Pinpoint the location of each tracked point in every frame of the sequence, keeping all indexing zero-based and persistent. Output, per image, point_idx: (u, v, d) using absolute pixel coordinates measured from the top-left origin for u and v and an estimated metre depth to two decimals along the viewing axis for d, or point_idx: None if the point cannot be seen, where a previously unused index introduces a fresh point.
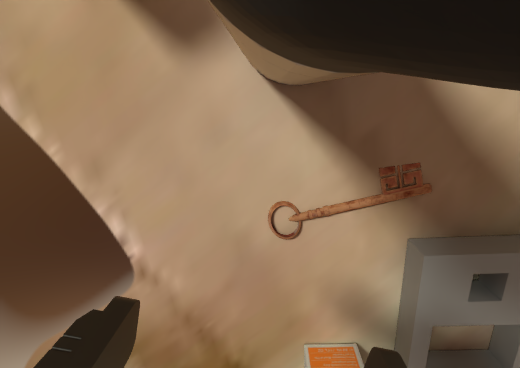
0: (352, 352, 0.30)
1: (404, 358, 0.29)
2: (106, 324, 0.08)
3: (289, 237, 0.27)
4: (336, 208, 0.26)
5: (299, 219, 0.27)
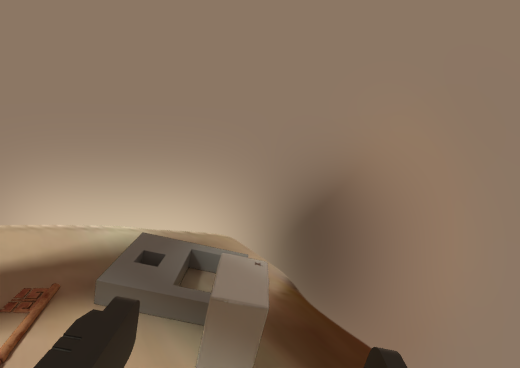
0: None
1: None
2: (106, 324, 0.08)
3: None
4: (3, 346, 0.24)
5: None
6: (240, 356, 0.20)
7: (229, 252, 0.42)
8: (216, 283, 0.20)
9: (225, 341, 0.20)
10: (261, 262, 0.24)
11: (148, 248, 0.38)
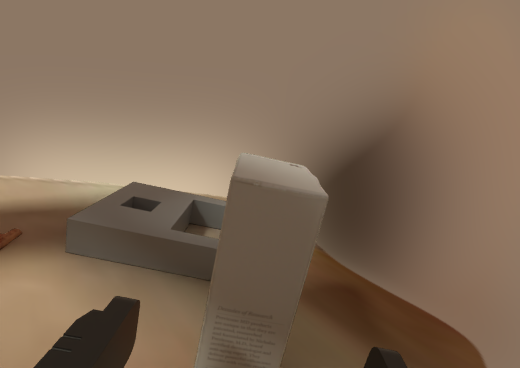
0: None
1: None
2: (106, 324, 0.08)
3: None
4: None
5: None
6: (278, 285, 0.12)
7: None
8: (238, 168, 0.13)
9: (254, 258, 0.12)
10: (298, 165, 0.16)
11: (139, 195, 0.31)
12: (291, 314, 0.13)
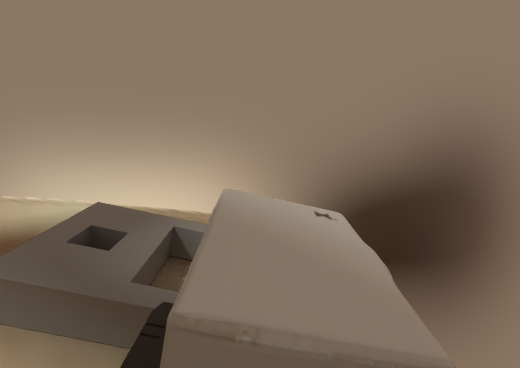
0: None
1: None
2: None
3: None
4: None
5: None
6: None
7: None
8: (201, 256, 0.05)
9: None
10: (329, 213, 0.09)
11: (100, 223, 0.23)
12: None
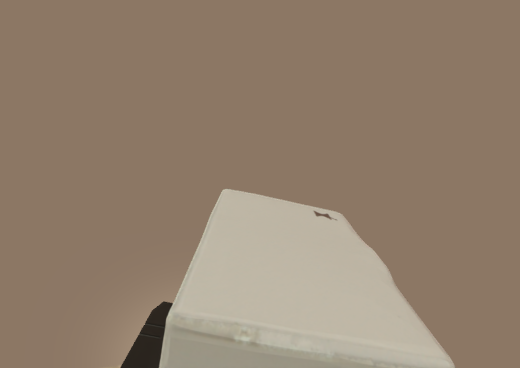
0: None
1: None
2: None
3: None
4: None
5: None
6: None
7: None
8: (201, 256, 0.05)
9: None
10: (329, 213, 0.09)
11: None
12: None
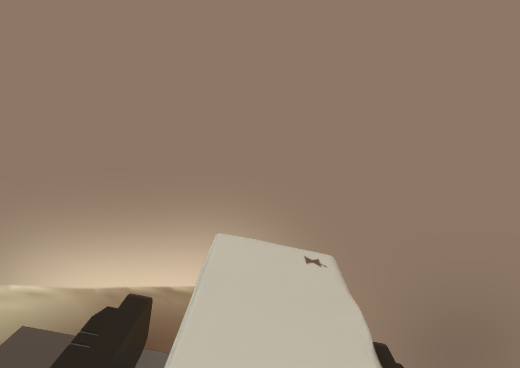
0: None
1: None
2: (122, 320, 0.08)
3: None
4: None
5: None
6: None
7: None
8: (185, 331, 0.05)
9: None
10: (320, 258, 0.09)
11: None
12: None
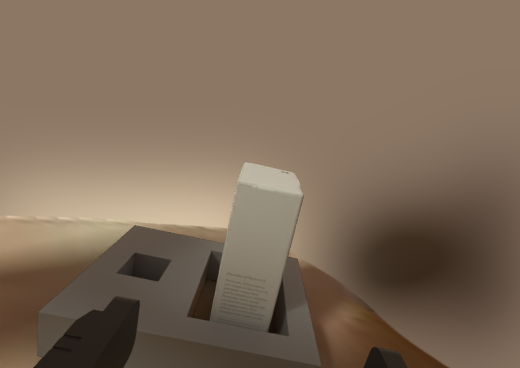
0: None
1: (261, 366, 0.16)
2: (106, 324, 0.08)
3: None
4: None
5: None
6: (269, 257, 0.18)
7: None
8: (242, 175, 0.18)
9: (253, 238, 0.17)
10: (288, 172, 0.22)
11: (143, 249, 0.23)
12: (279, 279, 0.18)
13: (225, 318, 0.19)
